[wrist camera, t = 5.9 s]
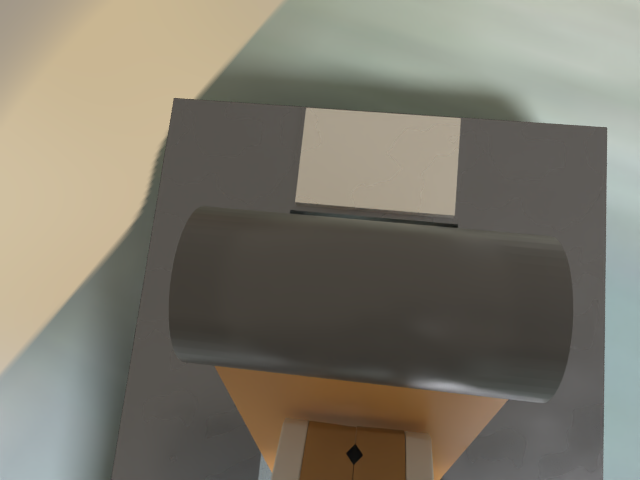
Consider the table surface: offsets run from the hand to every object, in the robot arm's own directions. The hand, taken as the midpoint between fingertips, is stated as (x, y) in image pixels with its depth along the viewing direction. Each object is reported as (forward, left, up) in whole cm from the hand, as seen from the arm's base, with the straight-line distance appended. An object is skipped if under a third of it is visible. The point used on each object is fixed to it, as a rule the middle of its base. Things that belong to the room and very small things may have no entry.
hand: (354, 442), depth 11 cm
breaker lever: (+1, +1, -7) cm, 7 cm away
